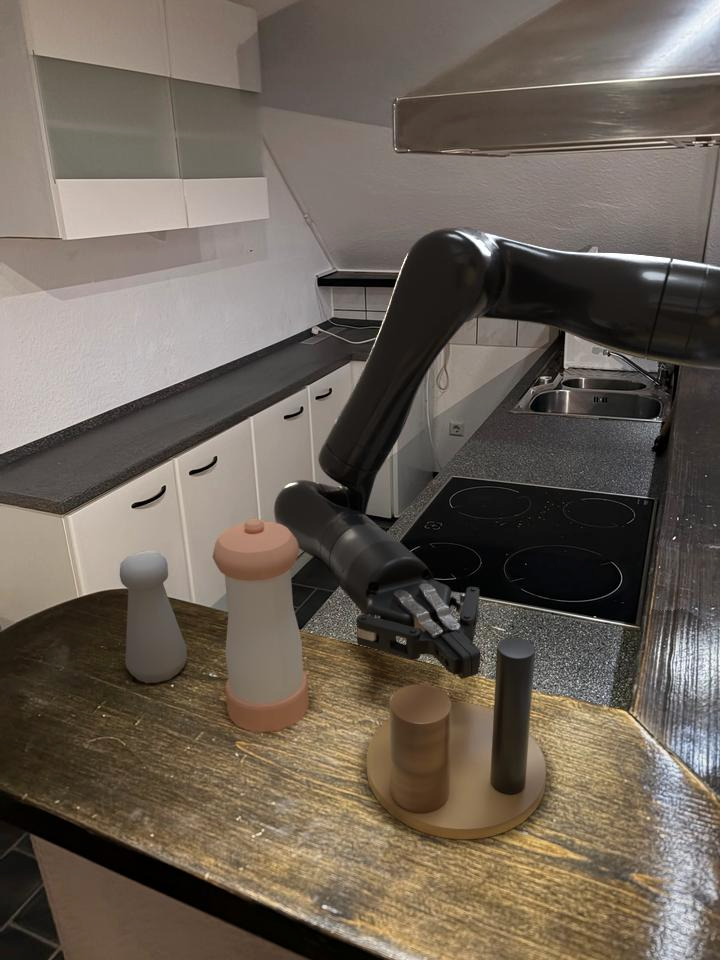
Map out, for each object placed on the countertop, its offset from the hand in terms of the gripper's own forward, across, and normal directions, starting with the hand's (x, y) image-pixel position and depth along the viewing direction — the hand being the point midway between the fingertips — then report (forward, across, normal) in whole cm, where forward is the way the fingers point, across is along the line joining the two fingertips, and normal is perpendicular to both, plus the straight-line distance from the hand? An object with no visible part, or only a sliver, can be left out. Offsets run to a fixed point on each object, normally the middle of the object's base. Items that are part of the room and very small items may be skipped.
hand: (471, 667), depth 61 cm
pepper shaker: (-11, -14, +8) cm, 20 cm away
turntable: (+3, -3, +7) cm, 8 cm away
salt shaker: (-21, -22, +8) cm, 32 cm away
